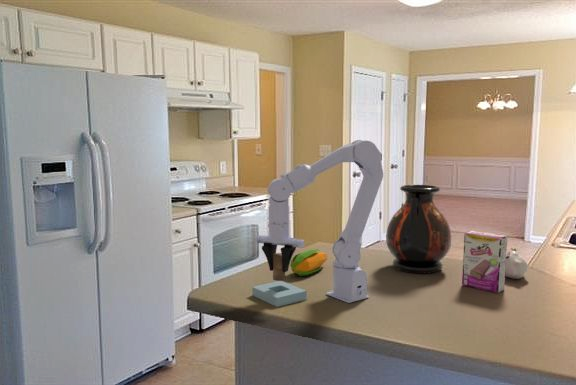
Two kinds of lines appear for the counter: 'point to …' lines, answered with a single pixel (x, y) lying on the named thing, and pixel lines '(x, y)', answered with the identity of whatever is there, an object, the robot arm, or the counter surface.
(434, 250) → the black and orange vase
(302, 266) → the corn
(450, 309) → the counter surface
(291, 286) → the board
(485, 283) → the candy bar box
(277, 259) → the peg
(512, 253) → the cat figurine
